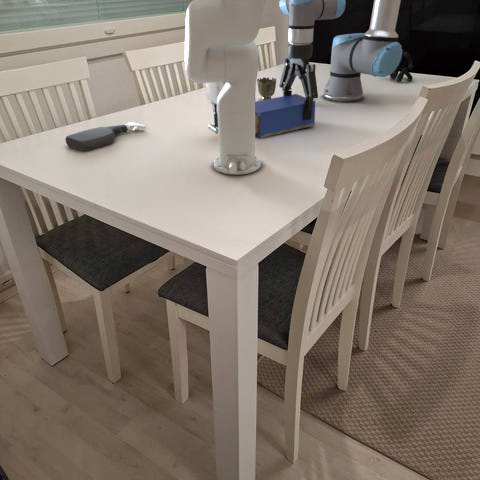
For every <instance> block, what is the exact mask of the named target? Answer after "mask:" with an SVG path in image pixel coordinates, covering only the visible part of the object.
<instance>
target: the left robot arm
mask: <svg viewBox="0 0 480 480" xmlns="http://www.w3.org/2000/svg"><path fill="white" fill-rule="evenodd" d="M265 4H266V0H191V1H190V3H189V4H188V6H187V8H186V13H185V25H184V26H185V27H184V28H185V30H184V69H185V73H186V75H187V78H188V79H189V80H190V81H191V82H192V83H195V84H205V91H206V93H205V94H206V98H207V100H208V101H209V102H210V104H211V105H212V111H213V123H214V124H213V125H215V127H216V128H218V134H217V136H218V137H217V138H218V157H216V158H215V159H214V160H213V167H214V169H215V170H216V171H217V172H219V173H222V174H226V175H233V176H234V175H238V176H239V175H247V174H252V173H254V172H256V171H258V170H259V169H260V168H261V166H262V161H261V159H260V158H259V157H258V156H256V135H255V102H256V90H257V89H256V88H257V79H258V72H259V65H260V50H259V47H258V44H257V43H256V42H255V39H256V38H257V37H258V34H259V31H260V28H261V23H262V18H263V13H264V9H265Z"/></svg>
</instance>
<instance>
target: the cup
mask: <svg viewBox="0 0 480 480" xmlns="http://www.w3.org/2000/svg"><path fill="white" fill-rule="evenodd" d="M256 84H257V91H258V95H259V96H260V97H261V101H262V100H267V99H272V97H273V96H274V95H275V92H276V89H277V88H276V87H277V78H276V77H275V78H274V77H272V78H271V79H270V77H262V78H261V77H259V78H257V79H256Z"/></svg>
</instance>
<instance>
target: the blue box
mask: <svg viewBox="0 0 480 480" xmlns="http://www.w3.org/2000/svg"><path fill="white" fill-rule="evenodd" d="M305 98H306V97H305V96H303V95H300V94H298V93H294V94H293V93H292V95H288V96H283V95H282V96H278V97H271V99H267V100H262V99H261V100H258V101H257V100H256V101H255V113H256V114H258V115H259V133H255V136H257V137H258V138H260V139H262V138H266V137H270V136H275V135H280V134H283V133H288V132H292V131H293V132H294V131H296V130H297V131H298V130H301V129H305V128H310V127H314V126H315V124H316V123H315V121H316V100H313V106H312V107H313V108H312V114H311V119H310V120H305V121H304V120H303V109H304V99H305Z"/></svg>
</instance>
